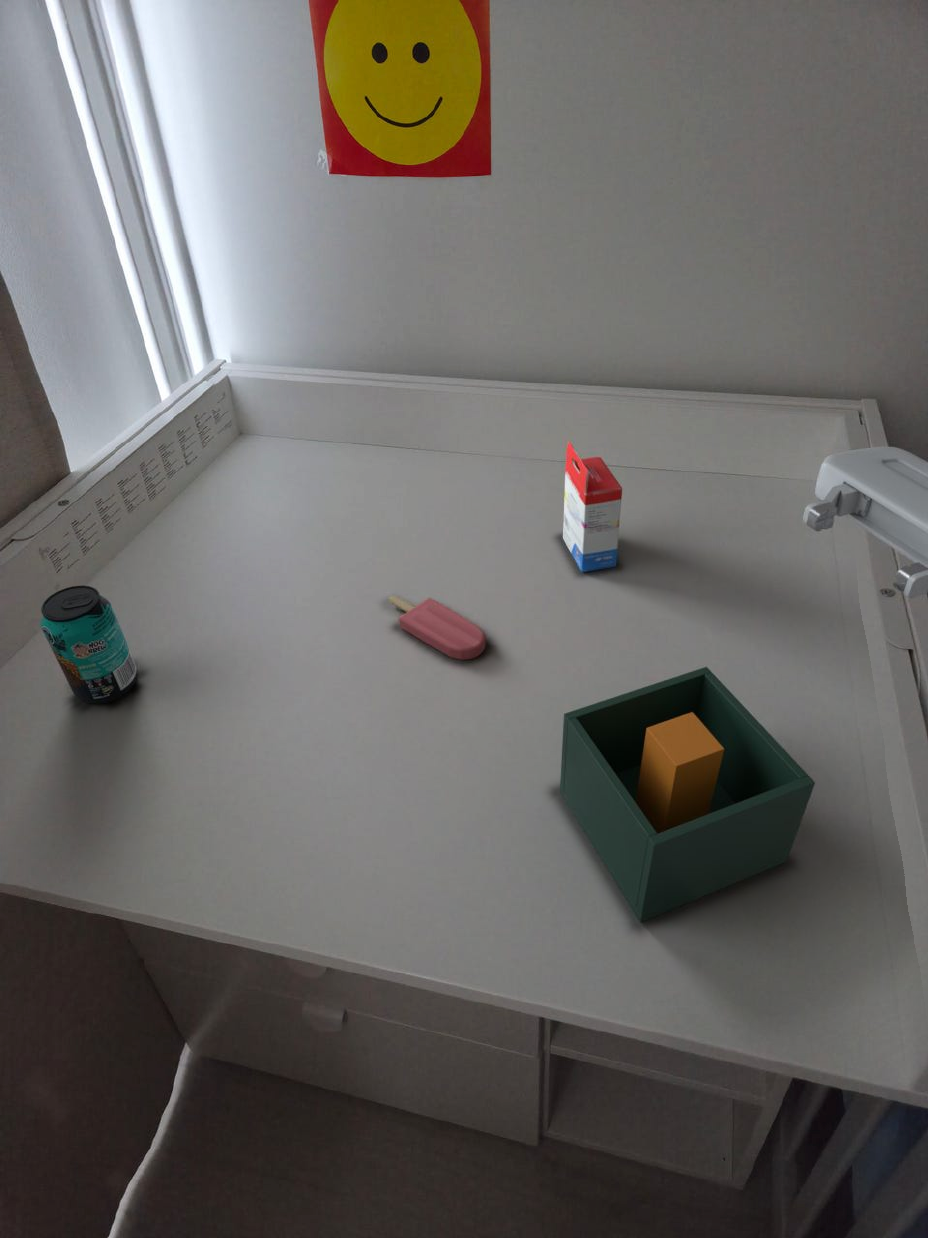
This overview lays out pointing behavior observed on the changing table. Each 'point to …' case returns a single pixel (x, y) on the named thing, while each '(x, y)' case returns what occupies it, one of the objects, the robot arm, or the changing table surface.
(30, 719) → the changing table surface
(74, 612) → the beverage can
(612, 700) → the open green box
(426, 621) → the popsicle
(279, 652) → the changing table surface
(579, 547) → the ink box
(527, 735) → the changing table surface
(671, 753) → the orange rectangular prism
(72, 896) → the changing table surface
